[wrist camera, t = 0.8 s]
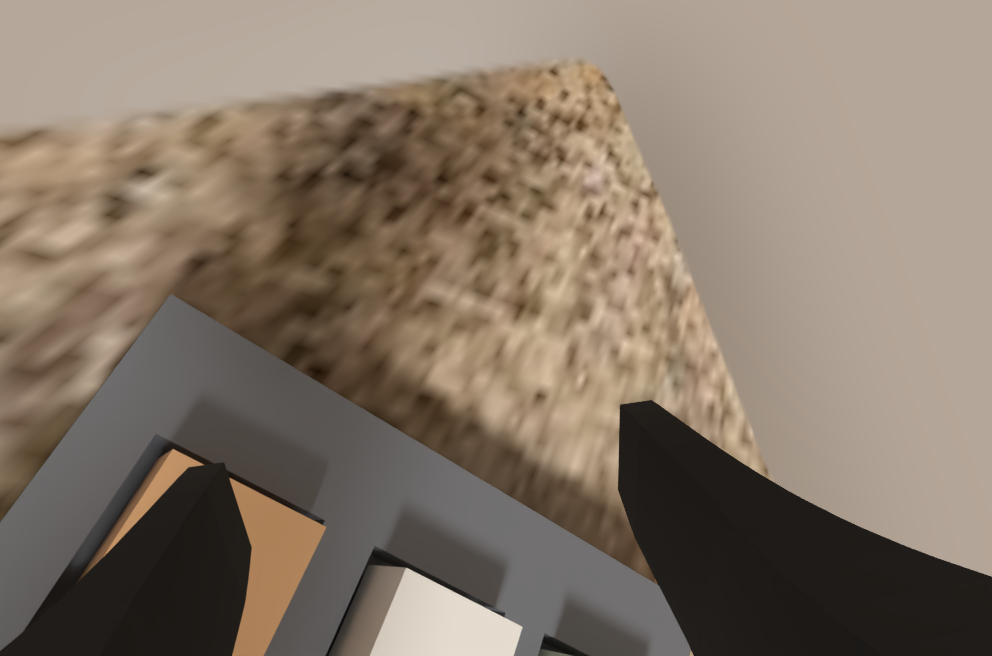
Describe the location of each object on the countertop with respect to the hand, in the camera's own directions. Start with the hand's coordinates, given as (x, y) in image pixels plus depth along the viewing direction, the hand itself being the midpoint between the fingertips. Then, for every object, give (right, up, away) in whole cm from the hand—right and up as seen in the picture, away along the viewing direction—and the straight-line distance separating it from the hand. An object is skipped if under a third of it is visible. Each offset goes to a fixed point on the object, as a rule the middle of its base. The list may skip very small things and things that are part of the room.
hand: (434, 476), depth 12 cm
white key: (-3, -9, +12) cm, 15 cm away
